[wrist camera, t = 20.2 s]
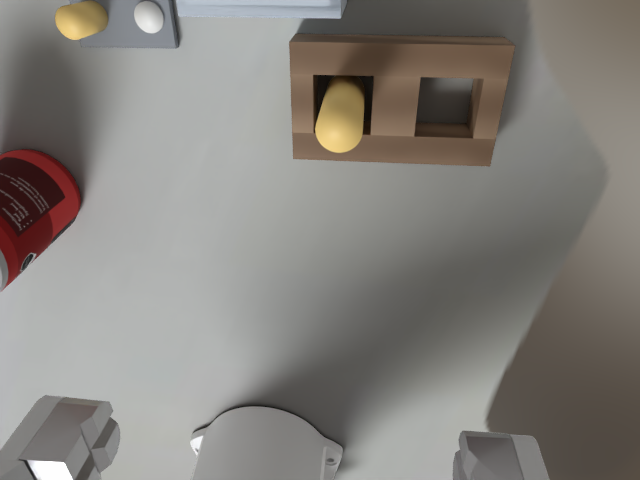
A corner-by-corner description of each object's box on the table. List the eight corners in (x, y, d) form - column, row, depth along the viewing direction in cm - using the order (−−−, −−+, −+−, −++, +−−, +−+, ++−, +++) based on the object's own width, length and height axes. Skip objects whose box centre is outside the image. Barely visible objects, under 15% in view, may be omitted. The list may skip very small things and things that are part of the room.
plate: (178, 46, 34) (159, 57, 31) (85, 45, 34) (57, 55, 31) (168, -17, 32) (147, -12, 29) (69, -18, 32) (38, -13, 29)
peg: (364, 111, 35) (361, 153, 28) (326, 110, 35) (315, 151, 29) (365, 73, 34) (364, 107, 27) (326, 72, 34) (315, 106, 27)
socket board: (481, 150, 36) (489, 166, 33) (298, 143, 37) (293, 158, 34) (504, 37, 31) (515, 45, 29) (295, 33, 33) (289, 41, 30)
